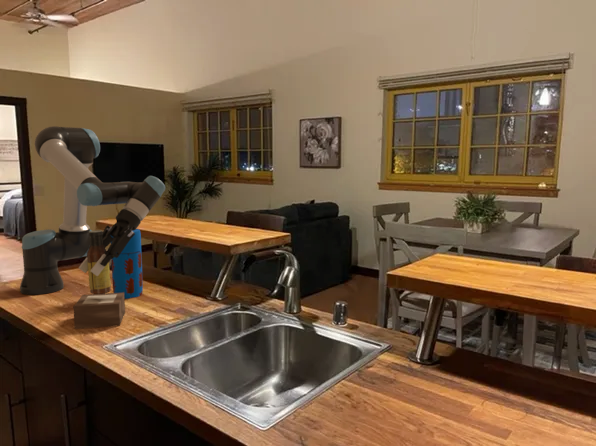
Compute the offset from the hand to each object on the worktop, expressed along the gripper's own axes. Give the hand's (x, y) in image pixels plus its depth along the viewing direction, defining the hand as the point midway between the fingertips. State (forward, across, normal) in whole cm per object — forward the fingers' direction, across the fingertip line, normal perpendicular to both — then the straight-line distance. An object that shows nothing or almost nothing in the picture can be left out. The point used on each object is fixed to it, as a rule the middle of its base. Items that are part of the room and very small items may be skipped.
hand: (88, 271), depth 142 cm
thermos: (-6, +19, -30) cm, 36 cm away
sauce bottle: (+3, 0, -8) cm, 8 cm away
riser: (+9, 0, -14) cm, 17 cm away
